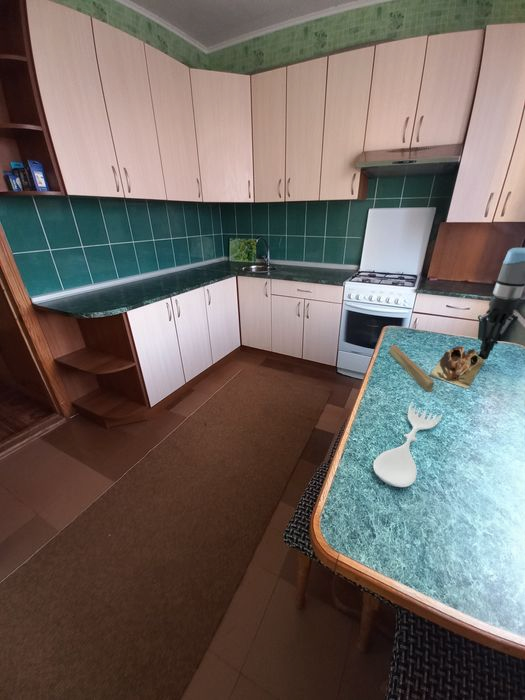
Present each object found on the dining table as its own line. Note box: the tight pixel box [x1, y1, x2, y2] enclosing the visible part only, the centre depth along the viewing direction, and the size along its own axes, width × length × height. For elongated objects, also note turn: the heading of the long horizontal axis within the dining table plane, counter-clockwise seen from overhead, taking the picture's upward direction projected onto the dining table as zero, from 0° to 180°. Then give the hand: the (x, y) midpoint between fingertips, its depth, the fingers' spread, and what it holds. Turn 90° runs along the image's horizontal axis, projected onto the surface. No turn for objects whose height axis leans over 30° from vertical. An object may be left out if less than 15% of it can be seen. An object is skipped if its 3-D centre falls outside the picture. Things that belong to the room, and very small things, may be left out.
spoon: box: [372, 402, 443, 488], centre depth 74 cm, size 9×32×4 cm, turn 139°
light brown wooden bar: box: [389, 344, 435, 392], centre depth 108 cm, size 2×28×4 cm, turn 3°
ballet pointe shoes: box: [428, 345, 486, 389], centre depth 109 cm, size 14×7×28 cm
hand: (482, 357), depth 108 cm, fingers closed
